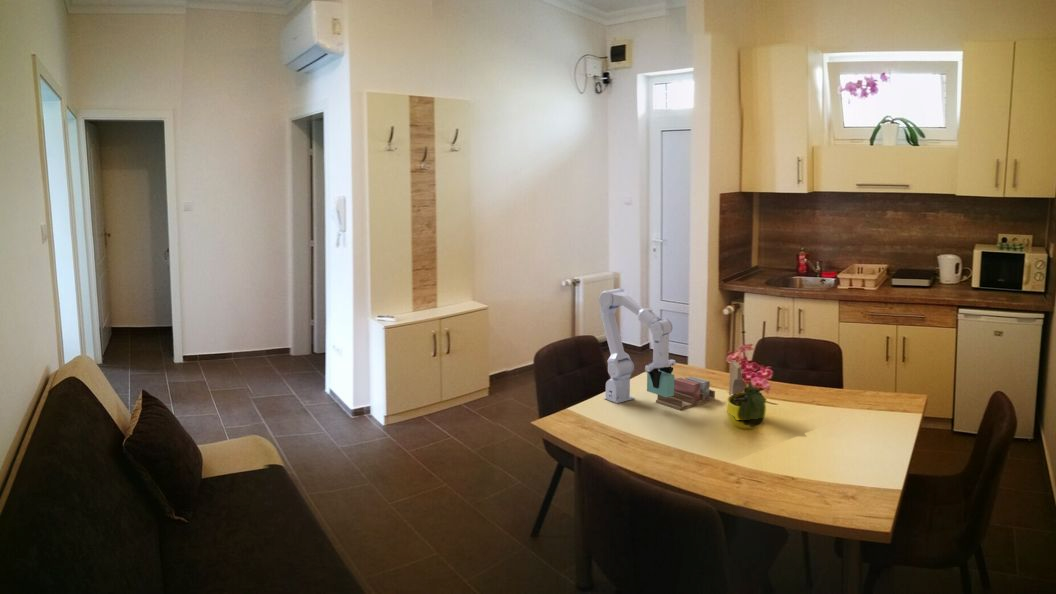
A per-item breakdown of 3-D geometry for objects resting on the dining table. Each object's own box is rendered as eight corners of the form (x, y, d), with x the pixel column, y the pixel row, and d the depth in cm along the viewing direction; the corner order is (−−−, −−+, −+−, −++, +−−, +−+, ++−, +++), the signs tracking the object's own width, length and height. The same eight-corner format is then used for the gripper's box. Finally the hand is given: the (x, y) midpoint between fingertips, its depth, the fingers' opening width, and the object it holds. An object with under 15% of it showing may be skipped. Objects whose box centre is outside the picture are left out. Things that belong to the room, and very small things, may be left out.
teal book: (666, 397, 265) (667, 376, 264) (646, 391, 273) (647, 370, 272) (673, 395, 267) (674, 374, 266) (654, 389, 275) (654, 369, 274)
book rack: (679, 410, 271) (680, 389, 269) (655, 402, 280) (656, 382, 279) (714, 399, 283) (715, 380, 282) (691, 392, 293) (691, 373, 291)
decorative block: (751, 421, 258) (753, 367, 255) (735, 420, 259) (737, 367, 255) (743, 411, 269) (745, 359, 266) (728, 410, 270) (730, 359, 266)
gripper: (655, 356, 260) (654, 392, 262) (682, 350, 269) (681, 385, 271) (641, 353, 266) (640, 388, 268) (667, 347, 274) (667, 381, 277)
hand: (660, 386), depth 270 cm, fingers closed on teal book, 4 cm apart
